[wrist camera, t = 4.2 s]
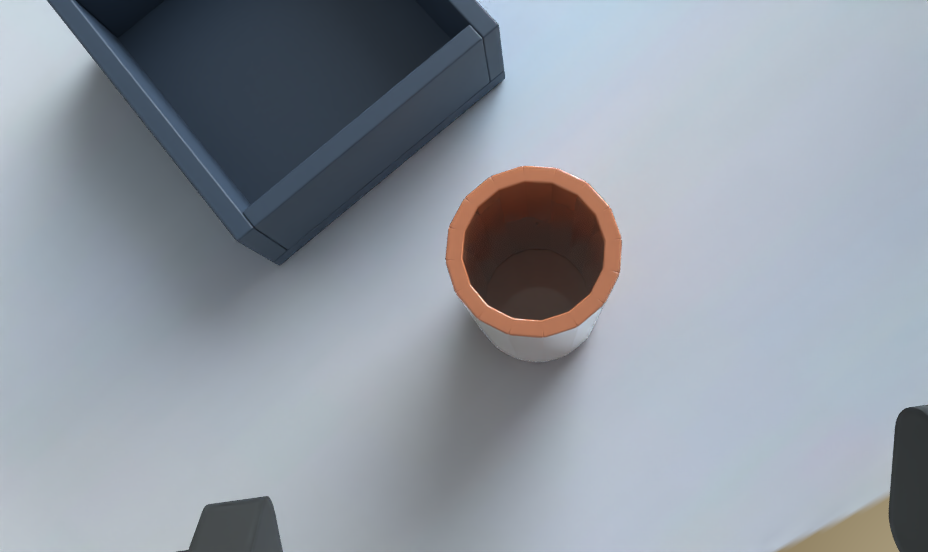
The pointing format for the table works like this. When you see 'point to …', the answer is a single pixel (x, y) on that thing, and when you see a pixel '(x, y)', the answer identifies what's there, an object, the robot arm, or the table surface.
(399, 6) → the bin
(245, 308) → the table surface
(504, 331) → the cup
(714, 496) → the table surface
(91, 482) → the table surface
